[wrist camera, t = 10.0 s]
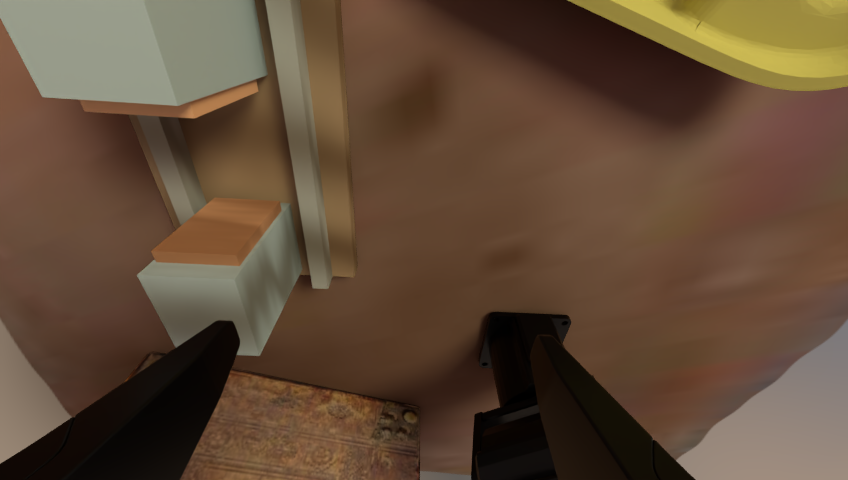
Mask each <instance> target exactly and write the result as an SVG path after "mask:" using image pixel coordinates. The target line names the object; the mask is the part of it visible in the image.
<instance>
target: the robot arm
mask: <svg viewBox="0 0 848 480" xmlns="http://www.w3.org/2000/svg"><path fill="white" fill-rule="evenodd" d="M494 318H496V319H494ZM563 321H564V322H563ZM570 325H571V320H570V318H569V316H567V315H552V314H529V313H506V312H493V313H491V314H490V315H489V318H488V322H487V327H486V331H485V335H484V339H483V343H482V348H481V352H480V356H479V366H480V367H482V368H492V369H493V374H494V379H495V384H496V389H497V394H498V399H499V404H500V408H497V409H494V410H491V411H487V412H484V413H483V412H480V413H477V414H475V418H474V432H473V451H472V471H471V480H695V479H694V478H693V477H692V476H691V475H690V474H689V473H688V472H687V471H686V470H685V469H684V468H683V467H682V466H681V465H680V464H679V463H678V462H677V461H676V460H675V459H674V458H672V457H671V456H670V455H669V454H668V453H667V452H666V451H665V450H664V449H663V448H662V446H661V445H660V444H659V443H658V442H657V441H655V440H653V438H652V437H651V435H650V434H649V433H648V432H647V431H646V430H645V429H644V428H643V427H642V426H641V425H640V424H639V423H638V422H637V421H636V420H635V419H634V418H633V417H632V416H631V415H630V414H629V413H628V412H627V411H626V410H625V409H624V408H623V407H622V406H621V405H620V404H619V403H618V402H617V401H616V400H615V399H614V398H613V397H612V396H611V395H610V394H609V393H608V392H607V391H606V390H605V389H604V388H603V387H602V386H601V385H600V384H599V383H598V382H597V381H596V380H595V378H594V377H593V375H592V376H591V375H590V374H589V373H588V372H587V371H586V370H585V369H584V368H583V367H582V366H581V365H580V363H579V362H578V361H577V360H576V359H575V358H574V357H573V356H572V355H571V354H570V353H569V352H568V351H567V350H566V349H565V348H564V345H563V341H564V338H565V336H566V334H567V332H568V329H569V327H570ZM239 347H240V338H239V335H238V332H237V329H236V326H235V324H234V322H233V321H231V320H217V321H215V322H213V323H212V324H211V325H209V326H208V327H206V328H205V329H203V330H202V331H200V332H199V333H197V334H196V335H194V336H193V337H191V338H190V339H188V340H187V341H185V342H184V343H182V344H181V345H179V346H178V347H176V348H175V349H173V350H172V351H170V352H169V353H167V354H166V355H164V356H163V357H161V358H160V359H158V360H157V361H155V362H154V363H152V364H151V365H149V366H148V367H146V368H145V369H144V370H142V371H141V372H139V373H138V374H136V375H135V376H133V377H132V378H130V379H129V380H127V381H126V382H124V383H123V384H121V385H120V386H118V387H117V388H115V389H114V390H112V391H111V392H109V393H108V394H106V395H105V396H103V397H102V398H100V399H99V400H97V401H96V402H94V403H93V404H91V405H90V406H88V407H87V408H85V409H84V410H82V411H81V412H80V413H78V414H77V415H76V416H75V417H72V418H70V419H69V420H68V421H66V422H64V423H63V424H62V425H60V426H58V427H57V428H56V429H54V430H53V431H51V432H49V433H48V434H47V435H45V436H44V437H42V438H41V439H39V440H37V441H36V442H34V443H33V444H31V445H30V446H28V447H27V448H25V449H23V450H22V451H20V452H19V453H17V454H15V455H14V456H12V457H11V458H9V459H7V460H6V461H4V462H2V463H1V464H0V480H180V479H181V477H182V475H183V473H184V471H185V469H186V467H187V465H188V463H189V461H190V459H191V457H192V455H193V453H194V451H195V449H196V446H197V444H198V442H199V440H200V438H201V436H202V434H203V432H204V430H205V428H206V426H207V424H208V422H209V420H210V418H211V416H212V414H213V412H214V410H215V408H216V406H217V404H218V402H219V400H220V397H221V395H222V392H223V390H224V387H225V385H226V382H227V379H228V377H229V374H230V371H231V368H232V366H233V363H234V360H235V358H236V355H237V352H238V350H239Z"/></svg>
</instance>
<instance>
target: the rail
mask: <svg viewBox="0 0 848 480" xmlns="http://www.w3.org/2000/svg"><path fill="white" fill-rule="evenodd" d="M255 5H256V11H257V17H258V22H259V28H260V33H261V39H262V45H263V50H264V56H265V62H266V67H267V73H268V75H267V76H264V77H261V78H258V79H256V81H257V86H258V92H256V93H254V94H251V95H249V96H247V97H244V98H242V99H240V100H237V101H235V102H232V103H230V104H228V105H225V106H223V107H221V108H218V109H216V110H213V111H211V112H209V113H206V114H204V115H202V116H199V117H197V118H179V117H163V116H147V115H131V114H128V116H129V118H130V121H131V123H132V126H133V128H134V131H135V133H136V135H137V138H138V140H139V143H140V145H141V147H142V150H143V152H144V155H145V157H146V160H147V162H148V164H149V167H150V169H151V172H152V174H153V177H154V179H155V181H156V184H157V186H158V189H159V191H160V193H161V196H162V198H163V201H164V203H165V206H166V208H167V210H168V213H169V215H170V218H171V220H172V223H173V225H174V227H175V230H176V231H174V232H173V233H172V234H171V235H170V236H168V237H167V238H166V239H165V240H164V241H163V242H161V243H160V244H159V245H158V246H157V247H155V248H154V249H153V250H152V251H151V252H152V254H153V256H154V258H155V260H153V261H152V262H151V263H150V264H149V265H148V266H147V267H146V268H144V269H143V270H142V271H141V272H140V273H139V274H138V275H137V276H138V278H139V280H140V282H141V284H142V286H143V287H144V289H145V291H146V293H147V295H148V297H149V299H150V301H151V302H152V304H153V306H154V308H155V310H156V312H157V314H158V315H159V317H160V319H161V321H162V323H163V325H164V327H165V329H166V330H167V332H168V334H169V336H170V338H171V340H172V342H173V344H174V345H175V347H178V346H179V345H181V344H182V343H184V342H185V341H187V340H188V339H190V338H191V337H193V336H194V335H196V334H197V333H199V332H200V331H202V330H203V329H205V328H206V327H208V326H209V325H211V324H212V323H213V322H215V321H217V320H231V321H233V322H234V324H235V326H236V329H237V332H238V335H239V338H240V347H239V350H238V352H237V355H250V356H260V354H261V352H262V350H263V348H264V346H265V344H266V342H267V340H268V338H269V336H270V334H271V332H272V330H273V328H274V326H275V324H276V322H277V320H278V318H279V316H280V314H281V312H282V310H283V307H284V305H285V303H286V301H287V299H288V297H289V295H290V293H291V291H292V289H293V287H294V285H295V283H296V281H297V279H298V277H299V275H311V281H312V287H313V288H318V289H328V288H329V285H330V282H331V279H332V277H333V276H338V277H355V274H356V270H357V252H356V237H355V221H354V206H353V190H352V174H351V159H350V143H349V127H348V112H347V96H346V80H345V65H344V49H343V34H342V18H341V2H340V0H255Z"/></svg>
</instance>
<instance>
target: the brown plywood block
mask: <svg viewBox="0 0 848 480" xmlns="http://www.w3.org/2000/svg"><path fill="white" fill-rule="evenodd" d="M164 355H166V354H163V353H158V352H151V353H149V354H147V355H146V356H145V357H144V359H143V360H142V361H141V362H140V364H139V365H138V366H137V367H136V368H135V370H134V371H133V372H132V373H131V374H130V376H129V377H128V378H127V379H126V381H127V380H129V379H130V378H132V377H133V376H135V375H136V374H138V373H139V372H141V371H142V370H144V369H145V368H146V367H148V366H149V365H151V364H152V363H154V362H155V361H157V360H158V359H160V358H161V357H163V356H164ZM126 381H125V382H126ZM180 480H420V409H419V407H416V406H411V405H407V404H402V403H397V402H392V401H387V400H383V399H378V398H373V397H368V396H364V395H359V394H354V393H349V392H344V391H340V390H335V389H330V388H325V387H321V386H316V385H311V384H306V383H302V382H297V381H292V380H287V379H282V378H278V377H273V376H268V375H263V374H259V373H254V372H249V371H244V370H239V369H235V368H231V371H230V374H229V377H228V379H227V382H226V385H225V387H224V390H223V392H222V395H221V397H220V400H219V402H218V404H217V406H216V408H215V410H214V412H213V414H212V416H211V418H210V420H209V422H208V424H207V426H206V428H205V430H204V432H203V434H202V436H201V438H200V440H199V442H198V444H197V446H196V449H195V451H194V453H193V455H192V457H191V459H190V461H189V463H188V465H187V467H186V469H185V471H184V473H183V475H182V477H181V479H180Z"/></svg>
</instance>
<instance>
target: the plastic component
mask: <svg viewBox="0 0 848 480" xmlns="http://www.w3.org/2000/svg"><path fill="white" fill-rule="evenodd" d="M568 1H570V2H572V3H574V4H576V5H578V6H580V7H583V8H585V9H587V10H589V11H591V12H593V13H595V14H598V15H600V16H602V17H604V18H606V19H608V20H611V21H613V22H615V23H617V24H619V25H621V26H623V27H626V28H628V29H630V30H632V31H634V32H636V33H638V34H641V35H643V36H645V37H647V38H649V39H651V40H653V41H656V42H658V43H660V44H662V45H664V46H666V47H668V48H671V49H673V50H675V51H677V52H679V53H681V54H683V55H686V56H688V57H690V58H692V59H694V60H696V61H698V62H701V63H703V64H706V65H708V66H710V67H713V68H715V69H717V70H720V71H722V72H724V73H727V74H729V75H731V76H734V77H737V78H740V79H743V80H746V81H748V82H751V83H755V84H759V85H763V86H767V87H771V88H776V89H784V90H792V91H815V90H827V89H835V88H840V87H846V86H848V0H568Z"/></svg>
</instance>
